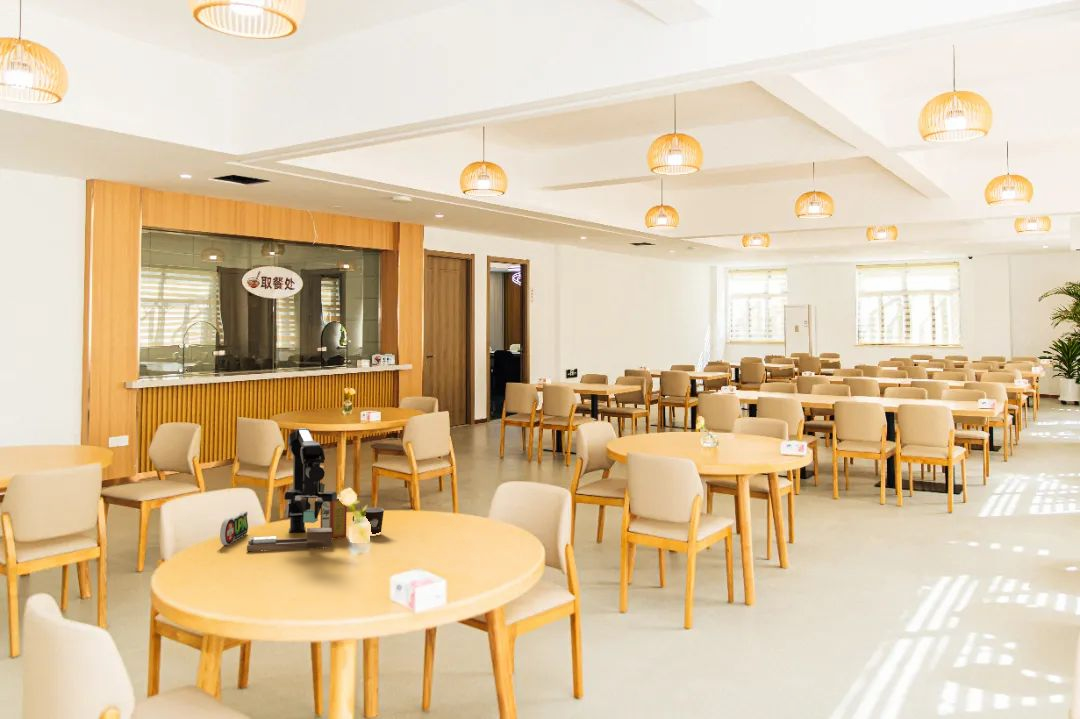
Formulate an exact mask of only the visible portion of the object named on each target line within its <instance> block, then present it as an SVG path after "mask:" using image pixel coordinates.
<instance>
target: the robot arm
mask: <svg viewBox="0 0 1080 719" xmlns="http://www.w3.org/2000/svg"><path fill="white" fill-rule="evenodd" d="M310 430H311V429H310V428H308V427H302V428H301V427H299V428H295V431H293V432H291V433H289V435H288V437H287V446H288V448H289V451H290V453H291V454H292V456H293V458H292V459H293V462H292V463H293V464H292V466H293V468H292V470H293V471H292V472H293V473H292V474H293V476H292V481H293V482H292V489H289V490H287V491H285V492H284V494H283V495H284V497H283V498H284V500H285V501H287V500H288V502H287V503H286V504H287V505H286V509H285V516H286V517H287V518H289V528H288V533H289V534H291V533H292V534H293V533H305V532H306V533H307V527H305V526H306V523H305V522H303V518H304V511H306V510H311V506H312V504H311V503H310V501H309V499H316V500H315V501H314V510H315V519H316V518H317V517H318V518H319V513H320V512H321V506H322V504H323V503H324V502H326V501H329V502H331V501H334V500H335V499H337V494H338V493H337V492H336V491H333V490H332V491H331V490H328V491H325V487H326V484H325V483H322V482H321V481H322V480H323V479H324V478H325V470H324V468H323V467H321V464H324V463H325V461H326V457H325V456H326V455H325V452H324V449H323V446H321V444H320V443H319V442H318V441H315V440H314V439H313V437H312V434H311V431H310Z"/></svg>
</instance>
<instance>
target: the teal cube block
mask: <svg viewBox="0 0 1080 719" xmlns="http://www.w3.org/2000/svg"><path fill="white" fill-rule="evenodd" d="M318 521H319V516H318V517H317V518H316V519H315V509H310V510H306V511H304V518H303V522H305V524H307V523H309V524H314V523H316V522H318Z"/></svg>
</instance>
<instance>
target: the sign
mask: <svg viewBox="0 0 1080 719" xmlns="http://www.w3.org/2000/svg"><path fill="white" fill-rule="evenodd" d="M248 515H249V514H248V511H241V512H239V514H235V515H233V516H231V517H230V518H229V517H226V518H224V520H223V522H222V523H221V526H220V534H219V540H220V543H221V544H222V545H223V546H230V545H232V544H233V542H236V541H237V539H238V540H239V539H241V538H242V537H244V536H246V535H247V534H248V531H249V524H248V523H249V522H248ZM245 534H246V535H245ZM243 535H244V536H243ZM240 537H241V538H240ZM231 543H232V544H231ZM229 544H230V545H229Z"/></svg>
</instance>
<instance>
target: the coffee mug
mask: <svg viewBox="0 0 1080 719" xmlns="http://www.w3.org/2000/svg"><path fill="white" fill-rule="evenodd" d="M365 509H366V515H365V516H366V518H367V519H368V521H369V522H370V524H371V532H372V534H376V533H379V532H381V533H382V528H383V527H382V526H383V520H384V512H385V509H384V508H382V507H367V508H365ZM352 521H353V522H354V521H355V517H354V515H353V516H352Z"/></svg>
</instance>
